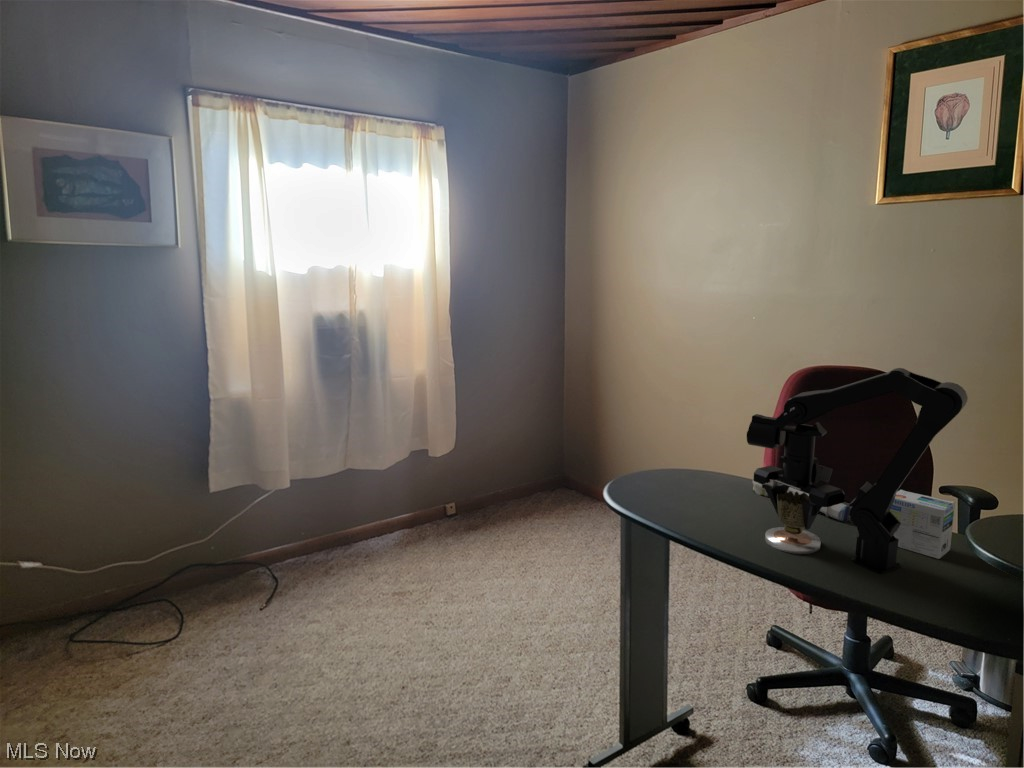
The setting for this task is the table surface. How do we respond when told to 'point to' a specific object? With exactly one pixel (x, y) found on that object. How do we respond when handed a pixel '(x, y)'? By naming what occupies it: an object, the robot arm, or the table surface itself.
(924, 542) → the light bulb box
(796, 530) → the cup
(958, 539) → the table surface
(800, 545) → the rosette plate
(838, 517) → the white long bar
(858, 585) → the table surface
